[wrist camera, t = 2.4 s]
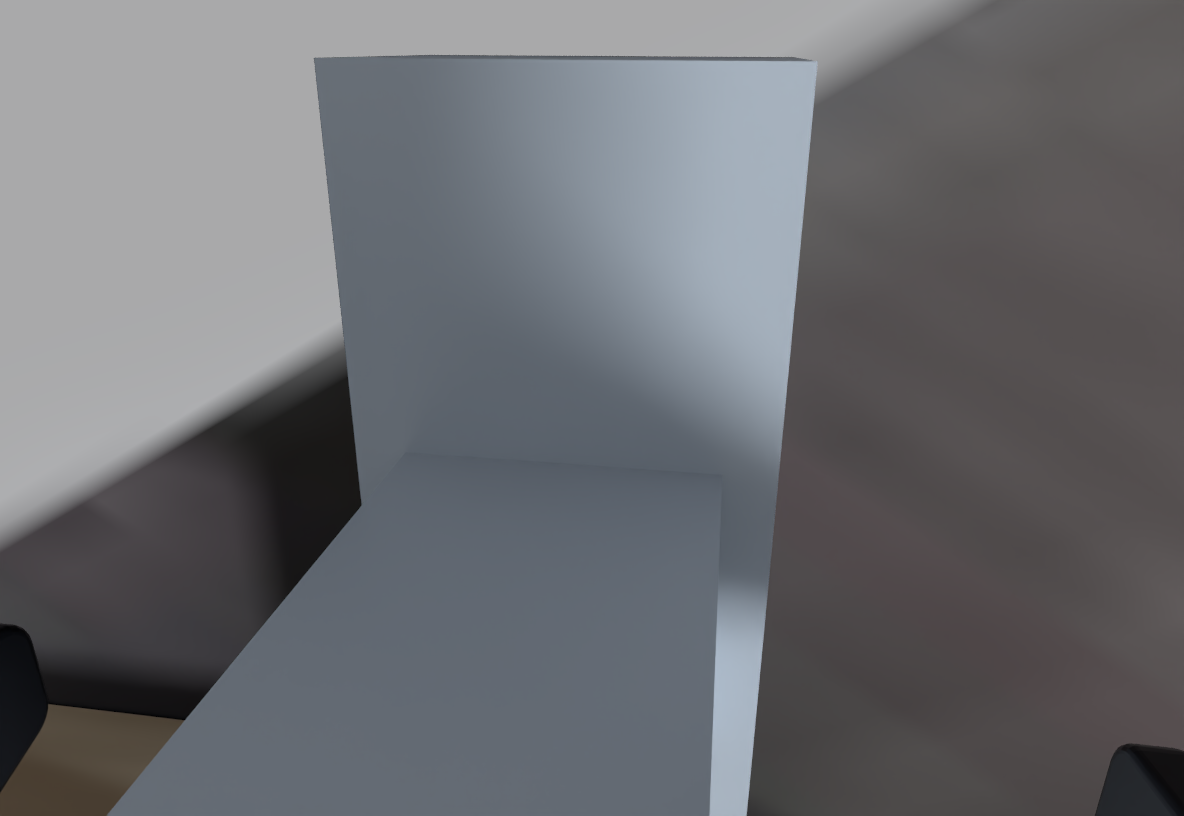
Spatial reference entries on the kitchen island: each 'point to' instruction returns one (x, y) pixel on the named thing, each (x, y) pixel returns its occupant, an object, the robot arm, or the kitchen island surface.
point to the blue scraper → (534, 449)
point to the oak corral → (83, 762)
